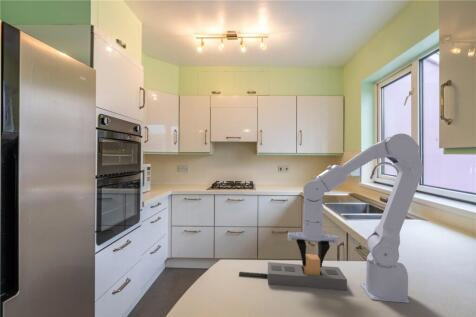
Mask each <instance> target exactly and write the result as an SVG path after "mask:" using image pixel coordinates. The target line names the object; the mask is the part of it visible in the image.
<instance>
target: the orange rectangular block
mask: <svg viewBox="0 0 476 317" xmlns="http://www.w3.org/2000/svg"><path fill="white" fill-rule="evenodd" d="M304 274H308V275H320V259H319V257H318V254H311V253H306V266H304Z"/></svg>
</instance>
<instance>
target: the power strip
mask: <svg viewBox="0 0 476 317" xmlns="http://www.w3.org/2000/svg"><path fill="white" fill-rule="evenodd" d="M238 275H239V276H243V277H244V276H245V277H246V276H247V277H256V278H257V277H258V278H267V284H268V285H278V286H289V287H290V286H291V287H300V288H301V287H303V288H315V289H326V290H327V289H328V290H337V291H338V290H339V291H347V290H348V279H347V278H346V276H345V275H344V273H343V271H342V270H341V268H340V267H339V266H328V265H327V266H326V265H325V266H324V265H322V267H320V275H308V274H304V266H303V264H299V263H284V262H273V261H272V262H271V261H268V262H267V273H263V272H262V273H259V272H248V271H239V272H238Z"/></svg>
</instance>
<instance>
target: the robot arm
mask: <svg viewBox="0 0 476 317" xmlns="http://www.w3.org/2000/svg"><path fill="white" fill-rule="evenodd" d="M385 158H386V159H387V160H389V161H390V162H391V163H392V164H393V166H394V167H395V168H396V170H397V171H398V173H397V175H396V177H395V178H396V179H395V181H394V184H393V186H392V189H391V192H390V194H389V196H388V200H387V202H386V205H385V207H384V210H383V213H382V216H381V218H380V221H379V223H378V224H377V225H376V227H375V228H374V230H373V232H372V233H371V234H370V235H369V236H368V237H367V238H366V248H367V249H368V251H369V253H368V255H367V256H366V269H365V270H366V274H365V276H366V277H365V281H366V282H365V283H360V287H361V288H362V289H363V291H364V292H365V293H366V294H367V296H368V297H369V299H371V300H372V301H380V302H381V301H383V302H396V303H405V304H409V303H410V299H408V297H409V294H408V293H409V274H408V271H407V268H406V266H405V265H404V264H403V263H401V262H399V259H400V251H399V247H400V245H401V234H400V233H401V230H402V227H403V224H404V222H405V219H406V217H407V214H408V211H409V209H410V207H411V204H412V201H413V198H414V197H415V194H416V191H417V190H418V186H419V184H420V181H421V178H422V175H423V173H424V166H423V163H422V160H421V156H420V146H419V144H418V143H417V142H416V141H415V140H414V138H413V137H412V136H411V135H409V134H406V133H396V134H394V135H392V136H388V137H385V138H383V140H381V141H378V142H376V143H374V144H372V145H370V146H368V147H367V148H365V149H364V150H362V151H361V152H359V153H358V154H356V155H355V156H353V157H351V158H350V159H349V160H348V161H346V162H345V163H343V164H342V165H338V164H333V165H328V166H327V167H326V170H324V171H322V172H321V173H320V174H318V175H314V176H313V177H312V178H313V180H309V181H307V182H306V183H305V185H304V187H303V190H302V191H303V196H304V198H303V208H302V209H303V212H302V231H301V232H300V231H297V232H287V241H289V242H292V241H295V242H296V244H297V246H298V249H299V253H300V257H301V262H302V263H301V265H303V266H306V254H307V244H306V242H317V250H318V251H317V252H318V253H317V255H318V257H319V259H320V267H322V266H323V263H324V259H325V257H326V255H327V252H328V251H329V250H330V247H331V245H330V243H332V244H333V243H334V244H336V245H337V244H339V236H337V235H336V234H329V233H328V234H326V233H323V231H324V227H323V226H324V225H323V224H324V205H323V198H324V196H325V193H330V192H332V191H333V190H334V189H337V187H339V186H341V185H342V184H344V183H346V182H347V181H348V177H349V174H351V173H353V172H355V171H357V170H358V169H360V168H362V167H363V166H364V165H366V164H368V163H370V162H372V161H373V160H377V159H385Z"/></svg>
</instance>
